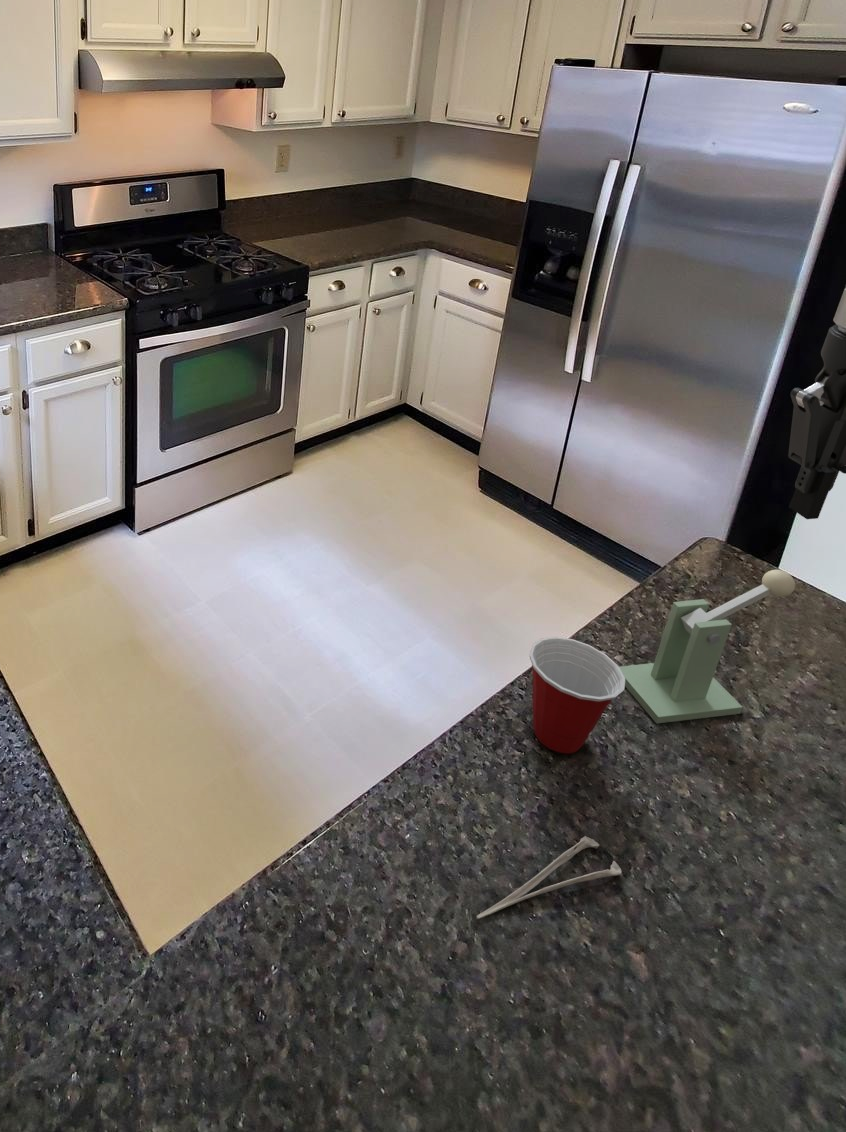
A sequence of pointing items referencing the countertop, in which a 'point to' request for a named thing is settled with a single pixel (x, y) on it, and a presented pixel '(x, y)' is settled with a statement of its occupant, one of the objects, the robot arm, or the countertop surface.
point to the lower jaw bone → (566, 856)
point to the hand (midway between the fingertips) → (803, 512)
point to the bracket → (684, 671)
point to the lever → (744, 598)
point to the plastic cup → (570, 691)
